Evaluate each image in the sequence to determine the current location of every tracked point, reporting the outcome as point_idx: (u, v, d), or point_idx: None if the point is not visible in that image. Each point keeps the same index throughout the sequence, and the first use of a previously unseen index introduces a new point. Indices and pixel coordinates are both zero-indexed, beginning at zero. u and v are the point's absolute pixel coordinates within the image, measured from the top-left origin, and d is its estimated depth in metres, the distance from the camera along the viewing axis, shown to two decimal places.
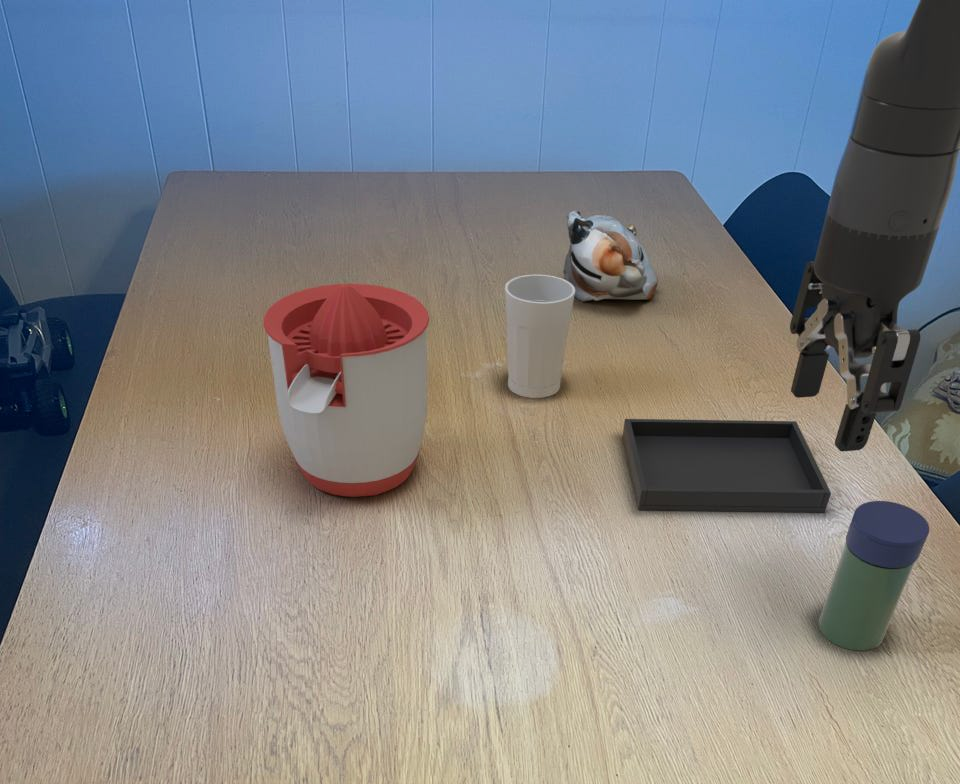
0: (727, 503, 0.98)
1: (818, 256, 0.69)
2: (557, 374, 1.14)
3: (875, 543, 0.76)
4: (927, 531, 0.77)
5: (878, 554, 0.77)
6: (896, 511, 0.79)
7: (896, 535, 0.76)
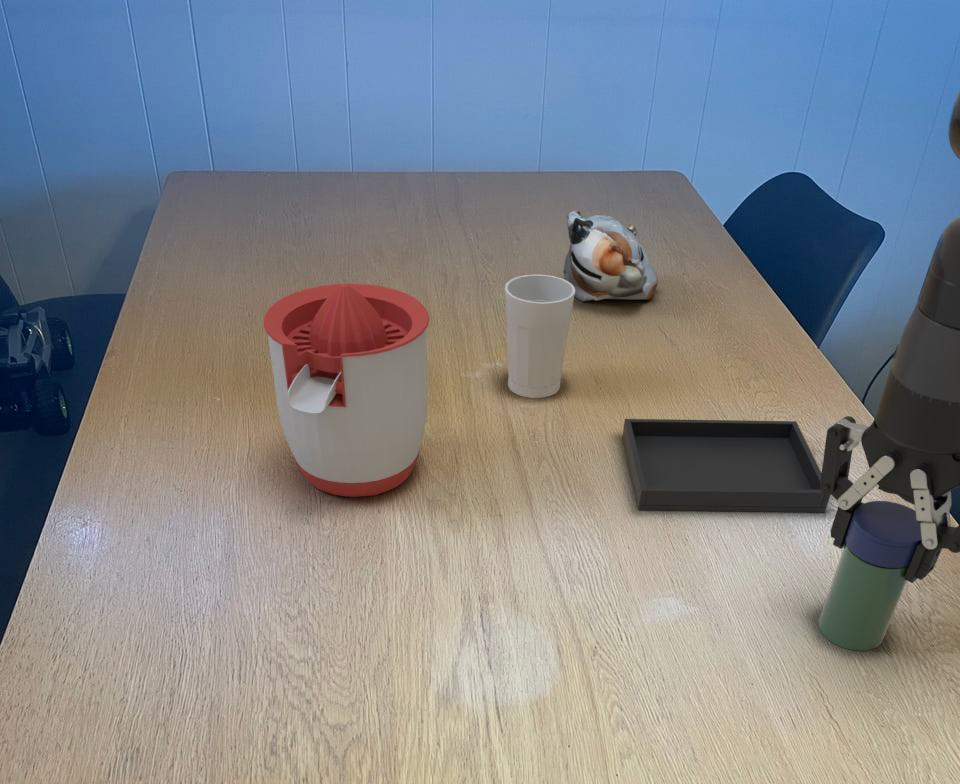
0: (727, 503, 0.98)
1: (900, 426, 0.69)
2: (557, 374, 1.14)
3: (875, 543, 0.76)
4: None
5: (878, 554, 0.77)
6: (896, 511, 0.79)
7: (896, 535, 0.76)
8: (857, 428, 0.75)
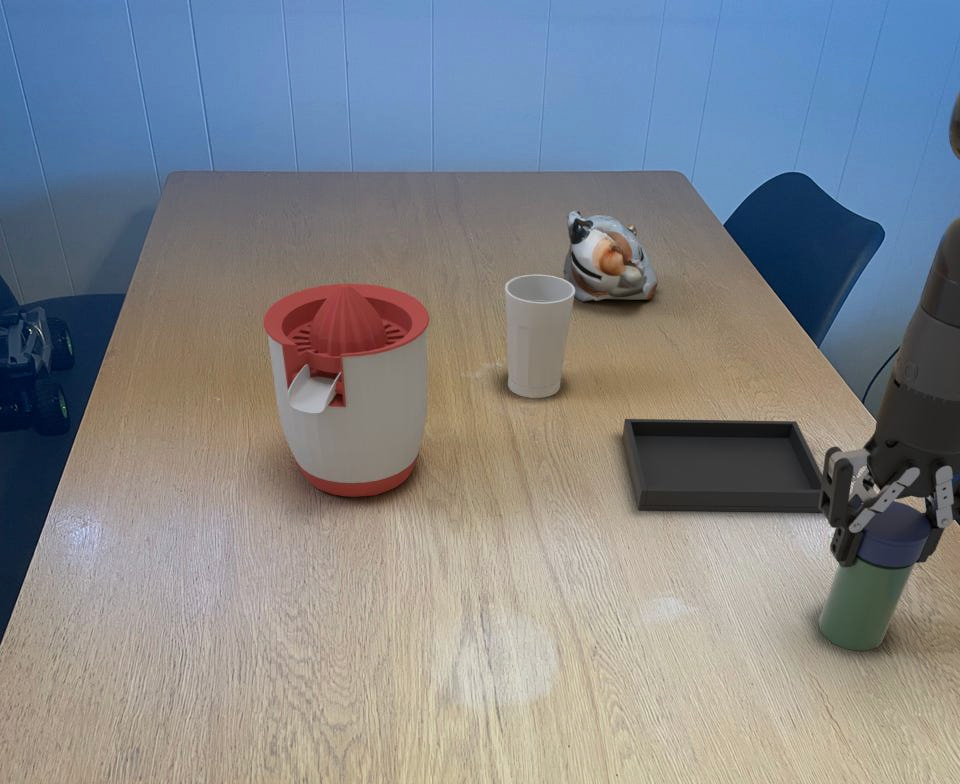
0: (727, 503, 0.98)
1: (949, 438, 0.68)
2: (557, 374, 1.14)
3: (910, 547, 0.76)
4: (919, 512, 0.78)
5: (911, 555, 0.76)
6: None
7: (915, 530, 0.76)
8: (860, 455, 0.72)
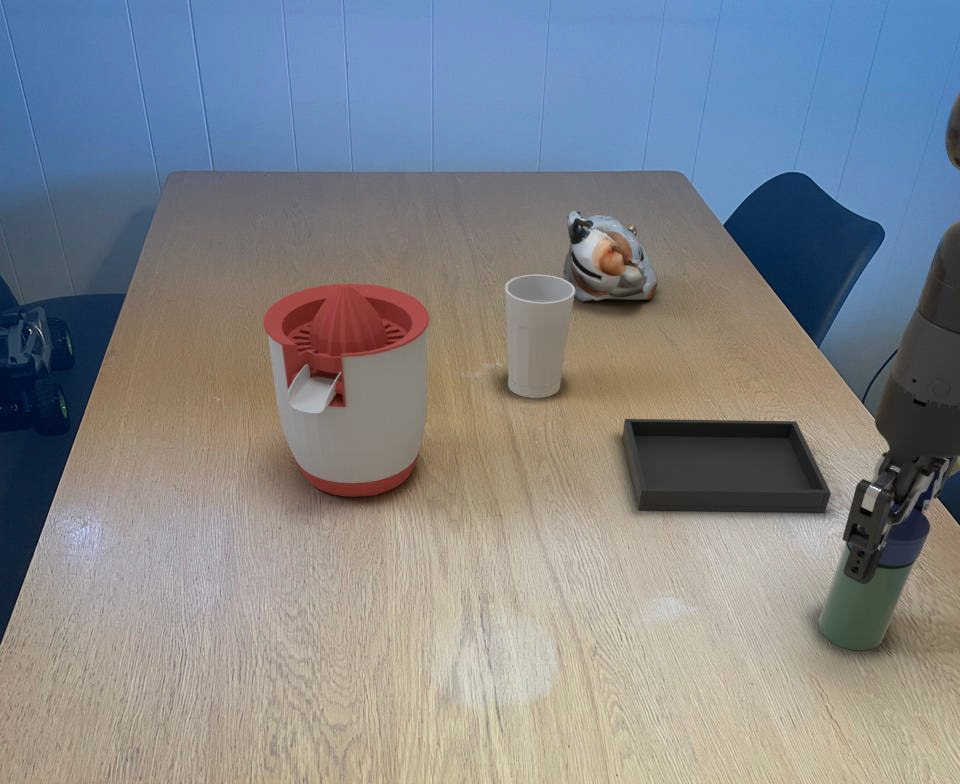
0: (727, 503, 0.98)
1: None
2: (557, 374, 1.14)
3: (925, 538, 0.76)
4: None
5: None
6: None
7: (916, 520, 0.77)
8: (889, 479, 0.71)
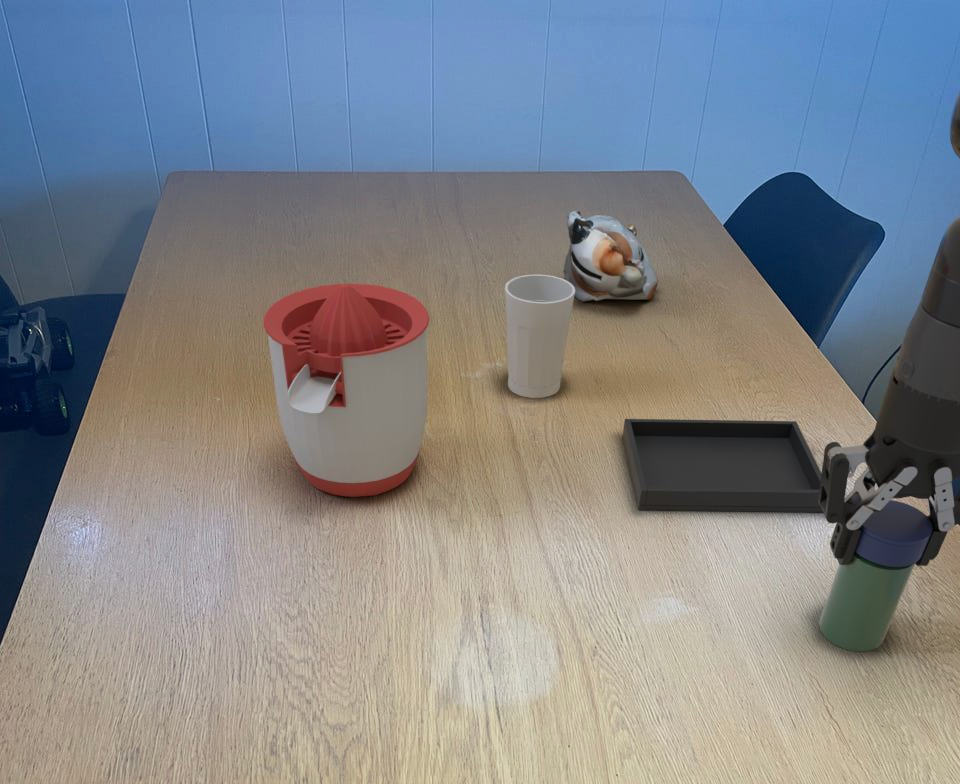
0: (727, 503, 0.98)
1: (944, 437, 0.68)
2: (557, 374, 1.14)
3: None
4: None
5: None
6: (876, 522, 0.77)
7: (908, 511, 0.78)
8: (858, 451, 0.73)
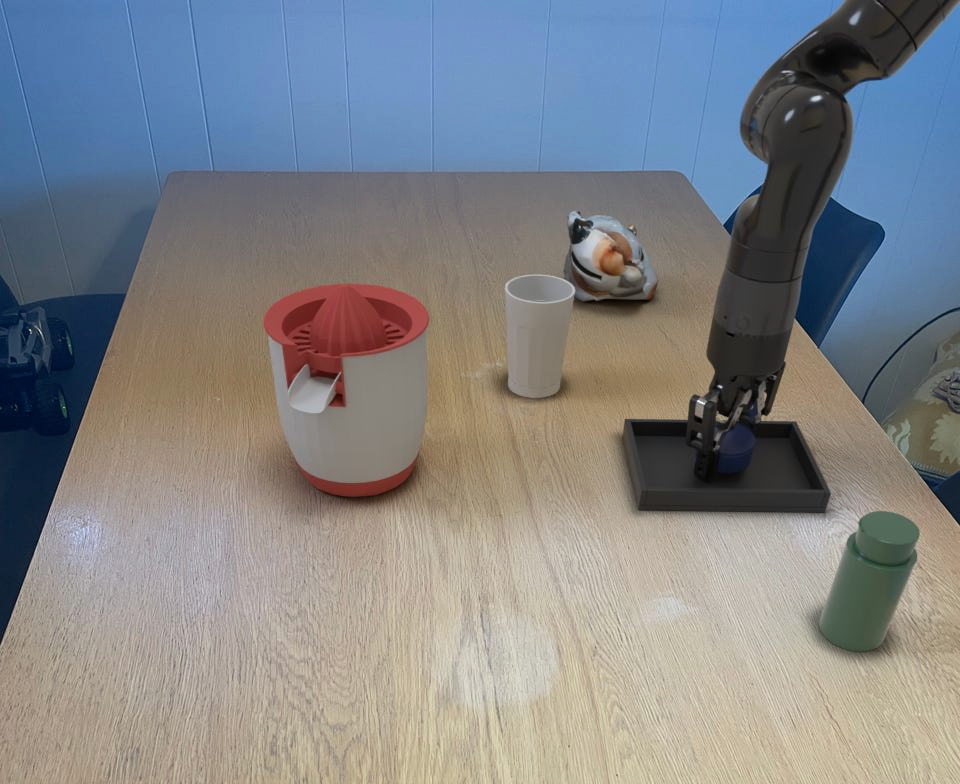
0: (727, 503, 0.98)
1: (775, 361, 0.92)
2: (557, 374, 1.14)
3: None
4: None
5: None
6: (741, 442, 1.00)
7: None
8: (714, 394, 0.93)
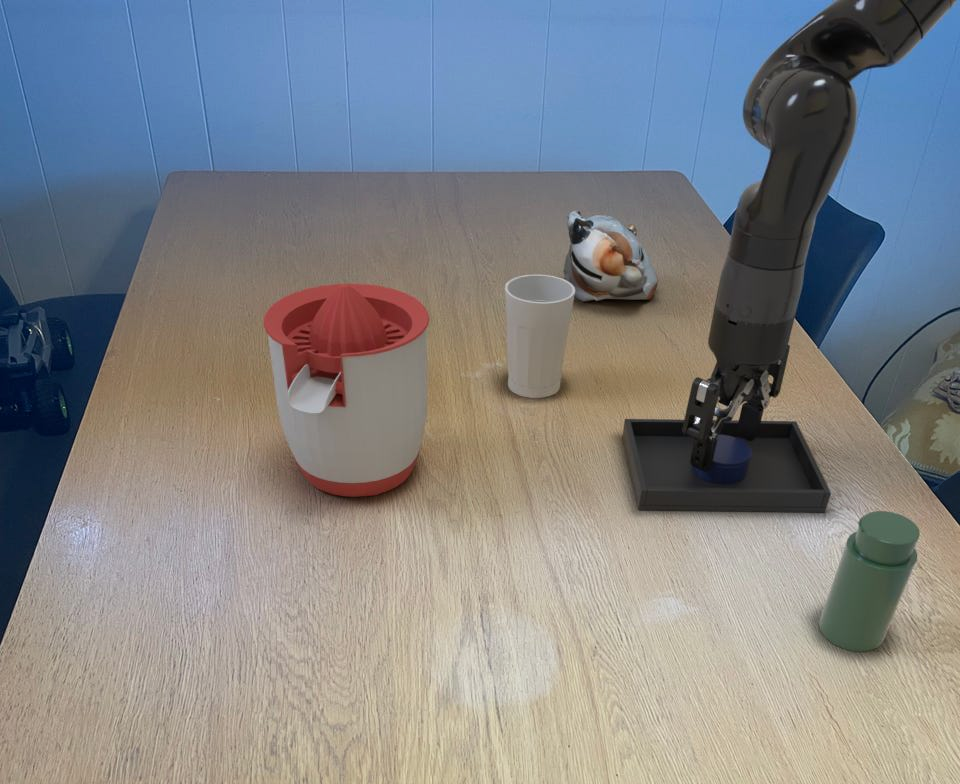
0: (727, 503, 0.98)
1: (778, 350, 0.91)
2: (557, 374, 1.14)
3: None
4: (714, 461, 1.00)
5: None
6: (738, 453, 1.01)
7: None
8: (717, 379, 0.92)
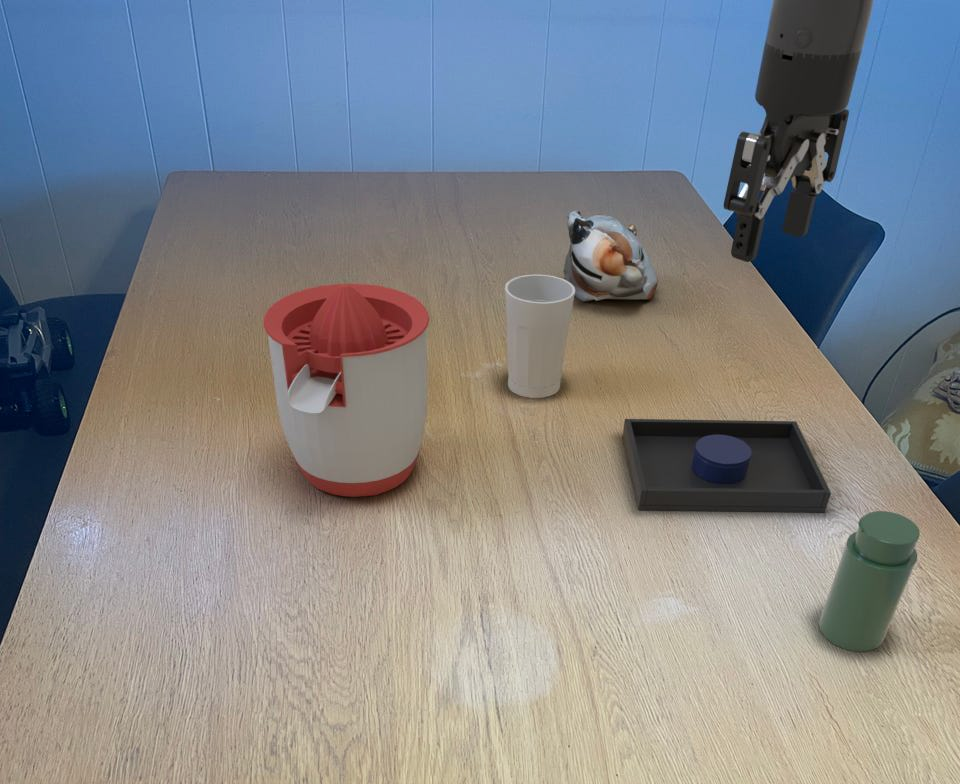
0: (727, 503, 0.98)
1: (840, 95, 0.76)
2: (557, 374, 1.14)
3: None
4: (714, 461, 1.00)
5: None
6: (738, 453, 1.01)
7: (704, 447, 1.02)
8: (767, 135, 0.78)
